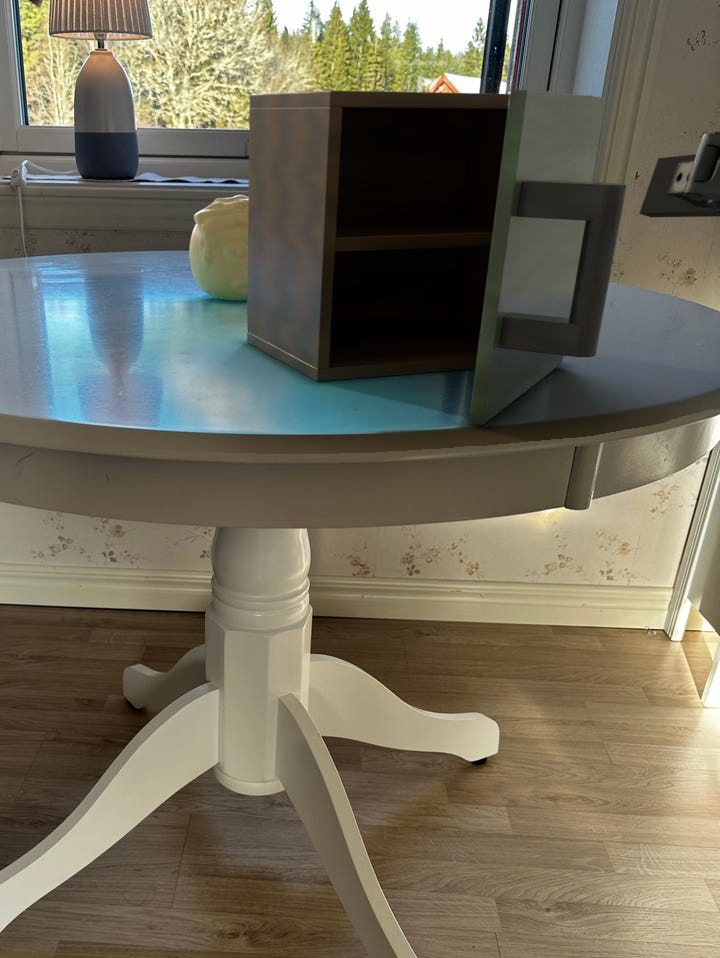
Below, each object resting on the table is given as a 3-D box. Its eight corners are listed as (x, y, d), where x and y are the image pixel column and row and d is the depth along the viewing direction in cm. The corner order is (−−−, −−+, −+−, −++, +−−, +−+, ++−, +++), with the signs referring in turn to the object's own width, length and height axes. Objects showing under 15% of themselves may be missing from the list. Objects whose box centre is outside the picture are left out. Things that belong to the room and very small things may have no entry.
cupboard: (550, 362, 82) (593, 95, 73) (316, 381, 75) (330, 90, 66) (452, 328, 95) (478, 98, 86) (246, 342, 89) (249, 94, 79)
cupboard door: (635, 372, 79) (692, 97, 69) (572, 439, 62) (636, 89, 52) (550, 362, 82) (593, 97, 72) (468, 423, 65) (510, 89, 55)
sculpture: (200, 306, 105) (199, 199, 100) (182, 289, 115) (180, 191, 110) (300, 303, 107) (305, 198, 102) (274, 287, 117) (276, 190, 112)
